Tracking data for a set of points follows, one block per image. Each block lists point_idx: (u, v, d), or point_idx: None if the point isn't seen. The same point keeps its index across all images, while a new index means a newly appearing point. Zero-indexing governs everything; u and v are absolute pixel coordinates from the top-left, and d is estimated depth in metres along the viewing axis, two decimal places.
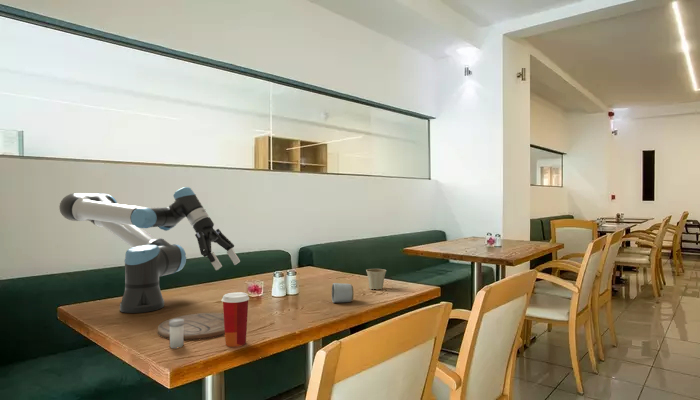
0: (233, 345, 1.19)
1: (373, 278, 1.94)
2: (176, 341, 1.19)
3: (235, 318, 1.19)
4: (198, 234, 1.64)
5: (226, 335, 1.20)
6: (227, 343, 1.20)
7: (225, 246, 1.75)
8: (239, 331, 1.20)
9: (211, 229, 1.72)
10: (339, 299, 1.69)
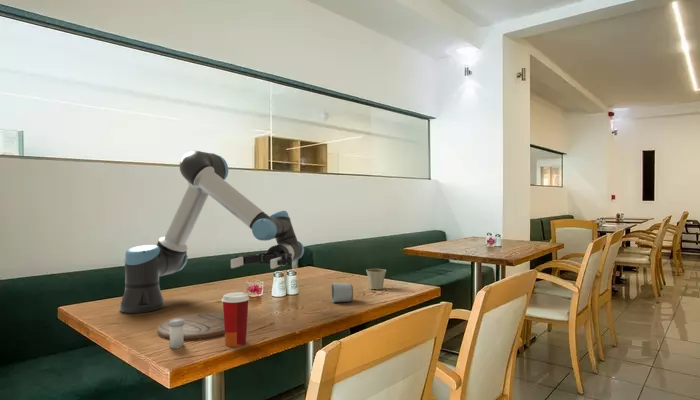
0: (233, 345, 1.19)
1: (373, 278, 1.94)
2: (176, 341, 1.19)
3: (235, 318, 1.19)
4: None
5: (226, 335, 1.20)
6: (227, 343, 1.20)
7: (247, 259, 1.42)
8: (239, 331, 1.20)
9: None
10: (339, 299, 1.69)
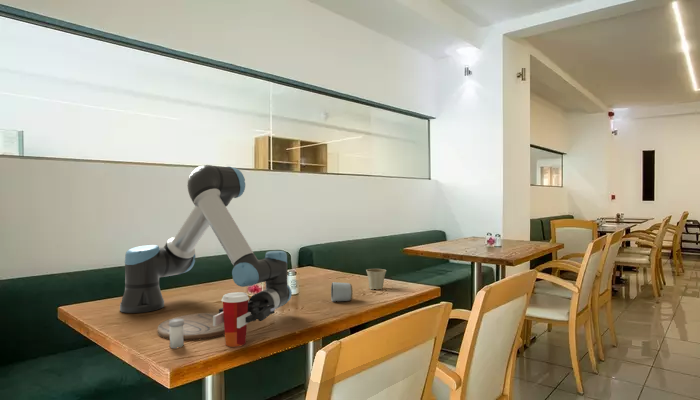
0: (233, 345, 1.19)
1: (373, 277, 1.94)
2: (176, 341, 1.19)
3: (235, 318, 1.19)
4: (273, 310, 1.31)
5: (226, 335, 1.20)
6: (227, 343, 1.20)
7: None
8: (238, 331, 1.20)
9: None
10: (339, 298, 1.71)
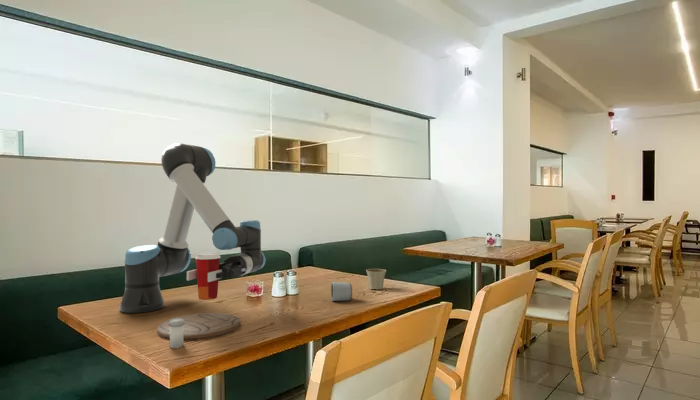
0: (205, 298, 1.32)
1: (373, 278, 1.94)
2: (176, 341, 1.19)
3: (206, 273, 1.32)
4: (244, 270, 1.43)
5: (199, 289, 1.33)
6: (199, 296, 1.33)
7: None
8: (210, 285, 1.32)
9: None
10: (338, 298, 1.71)
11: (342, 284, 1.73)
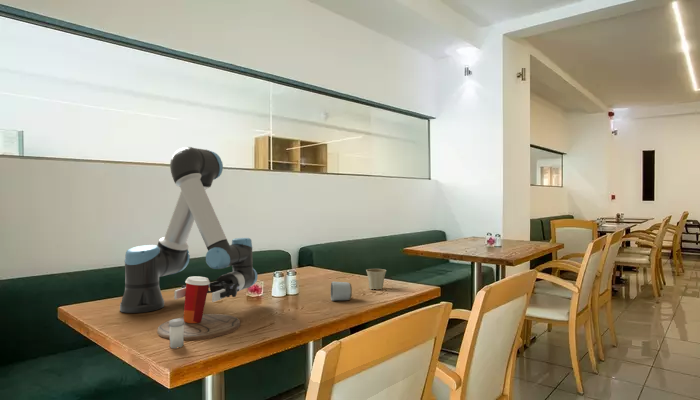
0: (190, 322, 1.37)
1: (373, 278, 1.94)
2: (176, 341, 1.19)
3: (194, 298, 1.37)
4: (238, 288, 1.48)
5: (185, 312, 1.38)
6: (185, 319, 1.38)
7: None
8: (196, 310, 1.38)
9: None
10: (338, 297, 1.72)
11: (342, 284, 1.74)
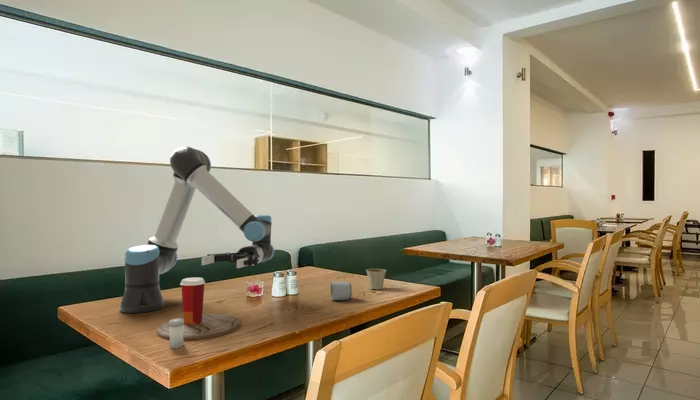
0: (190, 323, 1.37)
1: (373, 278, 1.94)
2: (176, 341, 1.19)
3: (191, 299, 1.37)
4: (258, 259, 1.60)
5: (184, 314, 1.38)
6: (184, 321, 1.38)
7: (218, 258, 1.57)
8: (194, 310, 1.37)
9: None
10: (338, 297, 1.72)
11: (342, 283, 1.74)
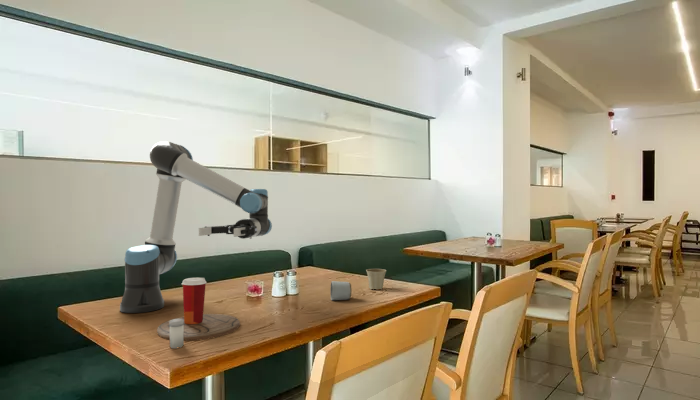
0: (190, 323, 1.37)
1: (373, 278, 1.94)
2: (176, 341, 1.19)
3: (192, 299, 1.37)
4: (256, 230, 1.60)
5: (184, 314, 1.38)
6: (185, 321, 1.38)
7: (215, 230, 1.57)
8: (195, 310, 1.37)
9: None
10: (338, 297, 1.73)
11: (341, 283, 1.75)
